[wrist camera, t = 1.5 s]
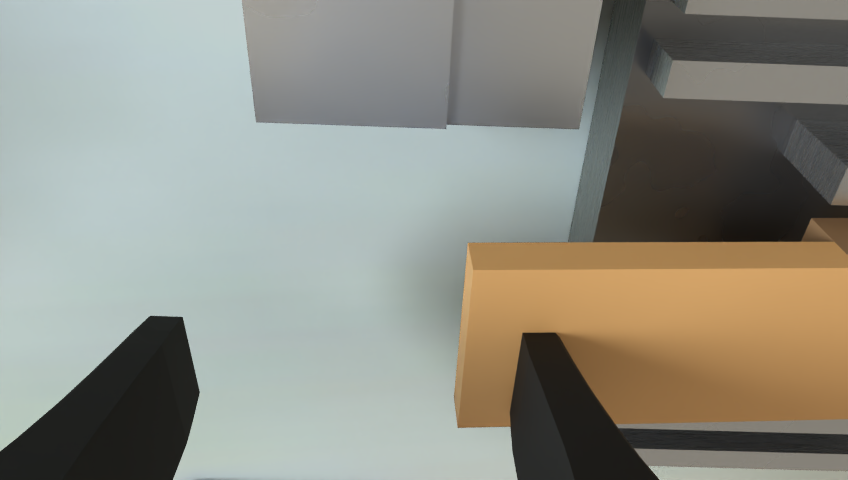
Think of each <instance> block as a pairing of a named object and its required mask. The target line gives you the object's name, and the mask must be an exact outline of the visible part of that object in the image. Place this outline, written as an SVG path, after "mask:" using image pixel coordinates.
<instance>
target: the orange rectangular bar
mask: <svg viewBox="0 0 848 480" xmlns="http://www.w3.org/2000/svg"><path fill="white" fill-rule="evenodd" d="M545 332H555V333H556V334H557V335H558V336H559V337H560V338H561V340H562V342H563V344H564V346H565V347H566V349H567V351H568V353H569V354H570V356H571V358H572V359H573V361H574V363H575V364H576V366H577V368H578V369H579V371H580V372H581V374H582V376H583V377H584V379H585V380H586V382H587V384H588V385H589V387H590V388H591V390H592V391H593V393H594V394H595V396H596V397H597V399H598V400H599V401H600V403H601V404H602V406H603V407H604V409H605V410H606V412H607V413H608V414H609V416H610V417H611V419H612V420H613V422H614V423H615V424H651V423H698V422H744V421H790V420H837V419H848V218H811V220H810V222H809V225H808V227H807V229H806V231H805V234H804V236H803V238H802V241H801V242H554V243H468V248H467V259H466V270H465V281H464V292H463V303H462V315H461V326H460V337H459V348H458V359H457V370H456V381H455V392H454V401H455V409H456V417H457V426H458V428H466V427H511V424H510V407H511V401H512V395H513V388H514V382H515V376H516V370H517V364H518V358H519V352H520V345H521V339H522V333H545Z"/></svg>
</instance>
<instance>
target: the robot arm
mask: <svg viewBox="0 0 848 480" xmlns="http://www.w3.org/2000/svg"><path fill="white" fill-rule="evenodd" d="M199 393H200V392H199V387H198V383H197V379H196V374H195V370H194V365H193V361H192V357H191V352H190V348H189V343H188V339H187V335H186V330H185V326H184V321H183V317H167V316H150V317H148V318H147V319H146V320H145V321H144V322H143V323H142V324H141V325H140V326H139V327H138V328H137V329H136V330H134V331H133V332H132V333H131V334H130V335H129V336H128V337H127V338H126V339H125V340H124V341H123V342H122V343H121V344H120V345H119V346H118V347H117V348H116V349H115V350H114V351H113V352H112V353H111V354H110V355H109V356H108V357H107V358H106V359H105V360H104V361H103V362H102V363H100V364H99V365H98V366H97V367H96V368H95V369H94V370H93V371H92V372H91V373H90V374H89V375H88V376H87V377H86V378H85V379H84V380H82V381H81V382H80V383H79V384H78V385H77V386H76V387H75V388H74V389H73V390H72V391H71V392H70V393H68V394H67V395H66V396H65V397H64V398H63V399H62V400H61V401H60V402H59V403H57V404H56V405H55V406H54V407H53V408H52V409H51V410H49V411H48V412H47V413H46V414H45V415H44V416H42V417H41V418H40V419H39V420H38V421H37V422H35V423H34V424H33V425H32V426H31V427H30V428H28V429H27V430H26V431H25V432H24V433H22V434H21V435H20V436H19V437H18V438H17V439H15V440H14V441H13V442H12V443H10V444H9V445H8V446H7V447H5V448H4V449H3V450H2V451H0V480H173V478H174V475H175V472H176V470H177V467H178V465H179V462H180V460H181V457H182V454H183V452H184V449H185V446H186V444H187V441H188V437H189V433H190V429H191V426H192V422H193V418H194V414H195V410H196V405H197V401H198V397H199ZM510 424H511V437H512V450H513V456H514V462H515V467H516V473H517V478H518V480H659V479H658V478H657V476H656V475H655V474H654V473H653V472H652V471H651V469H650V468H649V467H648V466H647V464H646V463H645V462H644V461H643V460H642V458H641V457H640V456H639V454H638V453H637V452H636V451H635V449H634V448H633V447H632V446H631V444H630V443H629V442H628V440H627V439H626V438H625V437H624V435H623V434H622V432H621V431H620V430H619V428H618V427H617V426H616V424H615V423H614V422H613V420H612V419H611V417H610V416H609V414H608V413H607V412H606V410H605V409H604V407H603V406H602V404H601V403H600V401H599V400H598V399H597V397H596V396H595V394H594V393H593V391H592V390H591V388H590V387H589V385H588V384H587V382H586V380H585V379H584V377H583V376H582V374H581V372H580V371H579V369H578V368H577V366H576V364H575V363H574V361H573V359H572V358H571V356H570V354H569V353H568V351H567V349H566V347H565V346H564V344H563V342H562V340H561V338H560V337H559V336H558V335H557V334H556V333H555V332H545V333H522V339H521V345H520V352H519V358H518V364H517V370H516V376H515V382H514V388H513V395H512V401H511V407H510Z"/></svg>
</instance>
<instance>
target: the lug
mask: <svg viewBox="0 0 848 480" xmlns="http://www.w3.org/2000/svg"><path fill="white" fill-rule="evenodd" d="M602 2H603V0H242V6H243V14H244V23H245V31H246V40H247V48H248V57H249V65H250V74H251V83H252V91H253V100H254V108H255V117H256V122H264V123H293V124H321V125H350V126H378V127H407V128H435V129H446V125H473V126H502V127H530V128H559V129H579V127H580V121H581V116H582V110H583V105H584V99H585V94H586V89H587V83H588V78H589V72H590V67H591V61H592V56H593V51H594V45H595V40H596V34H597V29H598V23H599V18H600V13H601V7H602Z"/></svg>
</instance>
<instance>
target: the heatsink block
mask: <svg viewBox="0 0 848 480" xmlns="http://www.w3.org/2000/svg"><path fill="white" fill-rule="evenodd" d="M811 218H848V0H615V4H614V9H613V14H612V19H611V25H610V30H609V35H608V40H607V45H606V50H605V55H604V61H603V66H602V71H601V76H600V81H599V86H598V91H597V96H596V102H595V107H594V112H593V117H592V122H591V127H590V132H589V138H588V143H587V148H586V153H585V158H584V163H583V168H582V174H581V179H580V184H579V189H578V194H577V199H576V204H575V210H574V215H573V220H572V225H571V230H570V235H569V240H568V242H801V241H802V238H803V236H804V234H805V231H806V229H807V227H808V225H809V222H810V220H811ZM616 426H617V427H618V428H619V430H620V431H621V432H622V434H623V435H624V437H625V438H626V439H627V440H628V442H629V443H630V444H631V446H632V447H633V448H634V449H635V451H636V452H637V453H638V454H639V456H640V457H641V458H642V460H643V461H644V462H645V463H646V464H647V466H677V467H714V468H752V469H789V470H827V471H848V419H837V420H790V421H744V422H698V423H651V424H616Z"/></svg>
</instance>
